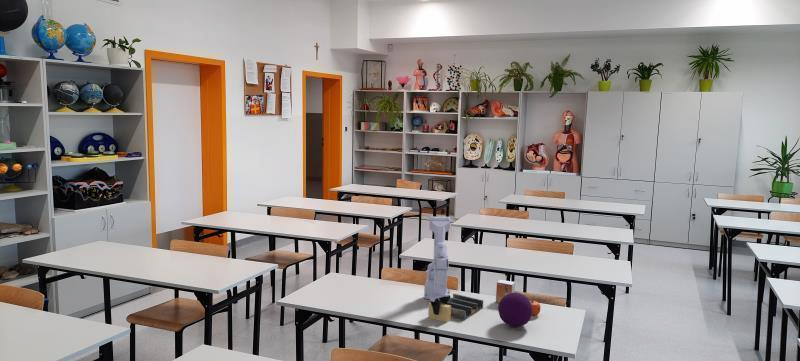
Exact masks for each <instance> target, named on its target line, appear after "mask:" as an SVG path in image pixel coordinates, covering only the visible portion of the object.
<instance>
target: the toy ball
mask: <svg viewBox="0 0 800 361" xmlns="http://www.w3.org/2000/svg"><path fill="white" fill-rule="evenodd" d="M530 301H531V300H530V299H529V298H528V297H527V296H526V295H524V294H523V293H520V292H516V291H515V292H514V293H509V294H507V295H505V296H504V297H503V298H502V299H501V301H500V303H498V307H497V311H498V315H499V317H500V319H501V320H502V322H503V323H504V324H505V325H507V326H509V327H512V328H520V327H523V326H525V325H526V324H528V323H529V322H530V320H531V319H532V313H533V308H532V305H531V302H530Z"/></svg>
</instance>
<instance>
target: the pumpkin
mask: <svg viewBox="0 0 800 361" xmlns="http://www.w3.org/2000/svg"><path fill="white" fill-rule="evenodd" d="M530 302H531V305H532V308H533V313H532V316H533V317H535V316H538V315H539V314H540V313H541V308H542V307H541V303H539V302H537V301H536V300H533V299H532V300H530Z"/></svg>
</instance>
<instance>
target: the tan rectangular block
mask: <svg viewBox="0 0 800 361" xmlns="http://www.w3.org/2000/svg"><path fill="white" fill-rule="evenodd" d="M427 315H428V317H429V319H432V320H436V321H439V322H440V321H441V322H444V323H449V322H451V320H452V319H451V318H452V317H451V306H450V305H446V304H442V303H441V305H440V309H439V315H435V314H434V312H433V308H432V305H431V303H430V301H428V312H427ZM428 317H427V318H428Z"/></svg>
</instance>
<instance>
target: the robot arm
mask: <svg viewBox="0 0 800 361" xmlns="http://www.w3.org/2000/svg"><path fill="white" fill-rule="evenodd" d="M428 225H429V231H431V232H433V235H434V238H433V261H432V262H431V263H429V264H428V265H427V270H426V271H427V275H426V276H427V277H426V280H425V283H424V288H423V289H424V293H423V297H422V298H423V299H427V300H429V301H428V302H430V303H431V305H432V308H433V312H434V314H435V315H439V309H440V305H441V303H442V304H446V305H447V303H448V300H449V299H450V297H451V295H450V294H451V293H450V292H451V290H450V288H448V286H447V285H448V271H449V265H450V264H449V256H448V246H447V244H445V235H446V233H447V232H448V231H449V230H450V229H451V218H450V216H432V215H431V216H429V224H428Z"/></svg>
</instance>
